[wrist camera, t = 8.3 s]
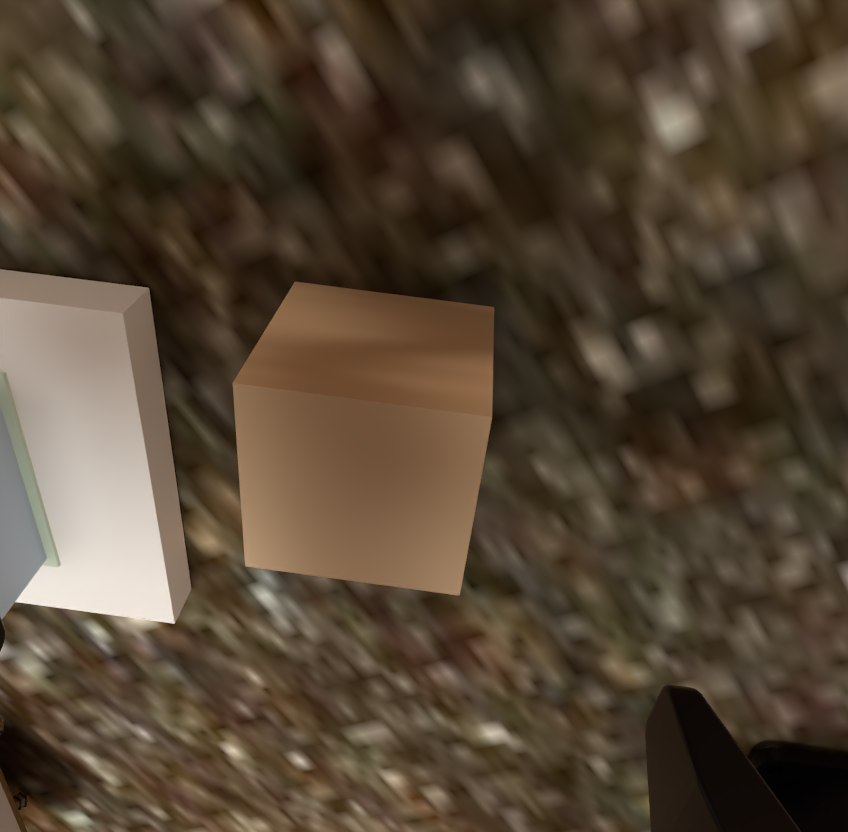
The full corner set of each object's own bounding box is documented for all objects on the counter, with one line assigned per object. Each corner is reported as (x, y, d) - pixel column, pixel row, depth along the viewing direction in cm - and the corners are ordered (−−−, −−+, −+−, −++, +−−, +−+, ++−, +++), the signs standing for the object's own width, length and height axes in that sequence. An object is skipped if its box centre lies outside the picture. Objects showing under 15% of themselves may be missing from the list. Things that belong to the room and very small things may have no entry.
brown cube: (494, 305, 14) (492, 416, 11) (468, 462, 16) (459, 595, 13) (296, 280, 14) (232, 383, 11) (297, 440, 16) (245, 566, 13)
